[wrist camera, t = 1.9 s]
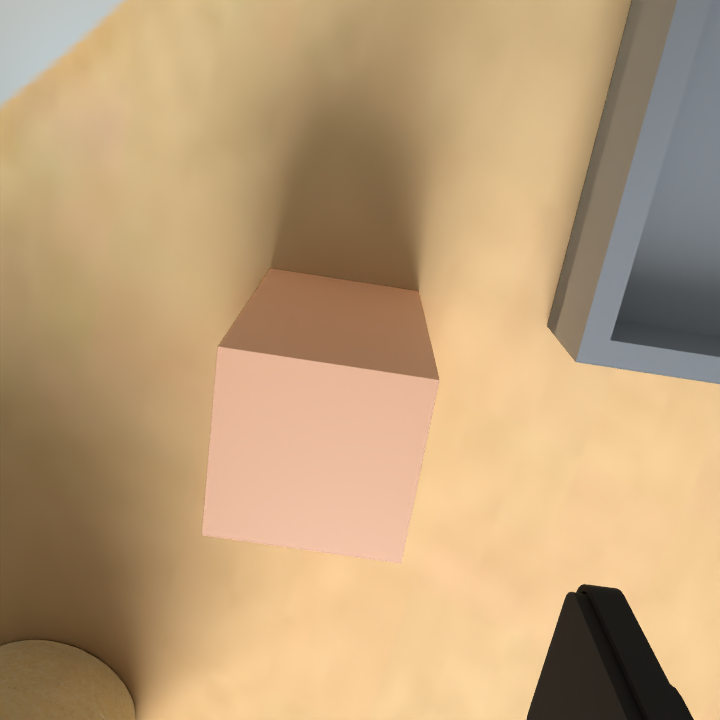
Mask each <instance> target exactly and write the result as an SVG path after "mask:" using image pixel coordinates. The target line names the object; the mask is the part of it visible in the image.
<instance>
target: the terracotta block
mask: <svg viewBox="0 0 720 720" xmlns="http://www.w3.org/2000/svg"><path fill="white" fill-rule="evenodd" d="M438 385H439V376H438V372H437V367H436V363H435V359H434V355H433V350H432V346H431V342H430V337H429V333H428V329H427V325H426V320H425V316H424V312H423V307H422V303H421V299H420V295H419V291H414V290H408V289H401V288H395V287H388V286H382V285H376V284H369V283H363V282H356V281H350V280H343V279H337V278H330V277H324V276H318V275H311V274H305V273H298V272H292V271H285V270H279V269H272V268H270V269H269V271H268V272H267V274H266V275H265V277H264V278H263V280H262V281H261V283H260V284H259V286H258V287H257V289H256V290H255V292H254V293H253V295H252V296H251V298H250V299H249V301H248V302H247V304H246V305H245V307H244V308H243V310H242V311H241V313H240V314H239V316H238V317H237V319H236V320H235V322H234V323H233V325H232V326H231V328H230V329H229V331H228V332H227V334H226V335H225V337H224V338H223V340H222V341H221V343H220V344H219V346H218V350H217V362H216V374H215V385H214V397H213V409H212V421H211V432H210V444H209V456H208V468H207V479H206V491H205V503H204V514H203V526H202V535H203V536H210V537H217V538H224V539H231V540H238V541H245V542H252V543H259V544H266V545H273V546H280V547H287V548H294V549H301V550H308V551H315V552H322V553H329V554H336V555H343V556H350V557H357V558H364V559H371V560H378V561H385V562H392V563H399V564H401V562H402V557H403V552H404V548H405V543H406V538H407V533H408V528H409V524H410V519H411V514H412V509H413V504H414V500H415V495H416V490H417V485H418V481H419V476H420V471H421V466H422V461H423V457H424V452H425V447H426V442H427V437H428V433H429V428H430V423H431V418H432V414H433V409H434V404H435V399H436V394H437V390H438Z"/></svg>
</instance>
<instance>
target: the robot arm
mask: <svg viewBox="0 0 720 720" xmlns="http://www.w3.org/2000/svg"><path fill="white" fill-rule="evenodd" d="M527 720H694V719H693V717H692V716H691V714H690V712H689V710H688V708H687V706H686V704H685V702H684V700H683V698H682V697H681V695H680V694H679V692H678V691H677V690H676V688H675V687H673V686H672V685H670V683H669V681H668V679H667V677H666V676H665V674H664V672H663V670H662V668H661V666H660V664H659V662H658V660H657V658H656V656H655V654H654V652H653V650H652V648H651V647H650V645H649V643H648V641H647V639H646V637H645V635H644V633H643V631H642V629H641V627H640V625H639V623H638V621H637V620H636V618H635V616H634V614H633V612H632V610H631V608H630V606H629V604H628V602H627V600H626V598H625V596H624V595H623V593H622V592H621V591H620V590H619V589H616V588H609V587H601V586H594V585H586V584H584V585H581V586H580V587H579V588H578V590H577V592H576V593H575V592H569V593H568V594H567V595H566V598H565V600H564V603H563V606H562V610H561V613H560V616H559V619H558V622H557V625H556V628H555V631H554V634H553V637H552V641H551V644H550V647H549V650H548V653H547V656H546V659H545V662H544V665H543V668H542V671H541V675H540V678H539V681H538V684H537V687H536V690H535V693H534V696H533V699H532V702H531V706H530V709H529V712H528V715H527Z"/></svg>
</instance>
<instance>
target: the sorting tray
mask: <svg viewBox="0 0 720 720" xmlns="http://www.w3.org/2000/svg"><path fill="white" fill-rule="evenodd" d="M547 327H548V328H549V329H550V330H551V332H552V333H553V334H554V335H555V337H556V338H557V339H558V340H559V342H560V343H561V344H562V345H563V347H564V348H565V349H566V350H567V352H568V353H569V354H570V356H571V357H572V358H573V359H574V361H575V362H579V363H585V364H592V365H598V366H605V367H612V368H618V369H625V370H631V371H638V372H644V373H651V374H657V375H664V376H670V377H677V378H683V379H690V380H697V381H703V382H710V383H716V384H720V0H632V2H631V6H630V10H629V14H628V18H627V22H626V25H625V29H624V33H623V37H622V41H621V45H620V48H619V52H618V56H617V60H616V64H615V68H614V71H613V75H612V79H611V83H610V87H609V91H608V95H607V98H606V102H605V106H604V110H603V114H602V118H601V121H600V125H599V129H598V133H597V137H596V141H595V144H594V148H593V152H592V156H591V160H590V164H589V167H588V171H587V175H586V179H585V183H584V187H583V190H582V194H581V198H580V202H579V206H578V210H577V213H576V217H575V221H574V225H573V229H572V233H571V236H570V240H569V244H568V248H567V252H566V256H565V260H564V263H563V267H562V271H561V275H560V279H559V283H558V286H557V290H556V294H555V298H554V302H553V306H552V309H551V313H550V317H549V321H548V325H547Z"/></svg>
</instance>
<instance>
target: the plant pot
mask: <svg viewBox="0 0 720 720" xmlns="http://www.w3.org/2000/svg"><path fill="white" fill-rule="evenodd" d="M0 720H136V718H135V708H134V704H133V701H132V698H131V696H130V694H129V692H128V690H127V688H126V686H125V685H124V683H123V682H122V681H121V680H120V678H119V677H118V676H117V675H116V674H115V673H114V672H113V671H112V670H111V669H110V668H109V667H108V666H107V665H106V664H104V663H103V662H102V661H100V660H99V659H97V658H96V657H94V656H92V655H90V654H89V653H87V652H85V651H83V650H81V649H78V648H76V647H73V646H70V645H67V644H62V643H58V642H53V641H48V640H23V641H17V642H12V643H8V644H5V645H2V646H0Z"/></svg>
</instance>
